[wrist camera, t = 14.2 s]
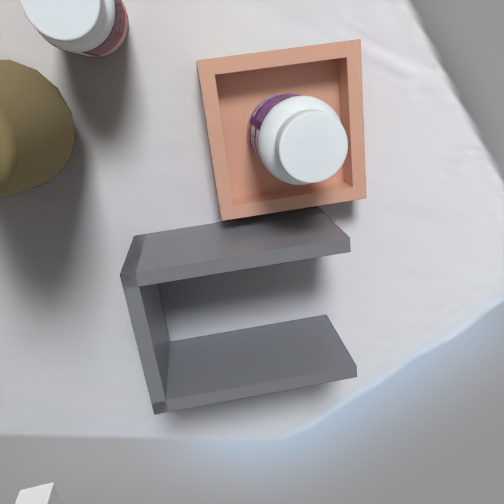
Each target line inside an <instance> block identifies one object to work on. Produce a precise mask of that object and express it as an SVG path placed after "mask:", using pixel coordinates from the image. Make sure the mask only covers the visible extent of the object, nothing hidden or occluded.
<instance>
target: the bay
mask: <svg viewBox="0 0 504 504" xmlns="http://www.w3.org/2000/svg"><path fill="white" fill-rule="evenodd" d="M346 252H351V250H350V237H349V236H348V235H347V234H346V233H345V232H344V231H342V230H341V229H340V228H339V227H338V226H337V225H336V224H335V223H334V222H333V221H332V220H331V219H330V218H329V217H328V216H327V215H326V214H325V213H324V212H323V211H322V210H321V209H320V208H319V207H316V208H310V209H303V210H297V211H290V212H284V213H278V214H271V215H265V216H258V217H252V218H246V219H239V220H233V221H227V222H220V223H214V224H207V225H201V226H195V227H188V228H182V229H175V230H169V231H163V232H156V233H150V234H143V235H137V236H134V238H133V240H132V243H131V246H130V249H129V251H128V254H127V257H126V260H125V262H124V265H123V268H122V270H121V273H120V278H121V282H122V286H123V290H124V294H125V298H126V302H127V306H128V310H129V314H130V318H131V322H132V326H133V330H134V334H135V338H136V342H137V346H138V350H139V354H140V358H141V362H142V366H143V370H144V374H145V379H146V383H147V387H148V391H149V395H150V399H151V403H152V407H153V411H154V414H160V413H165V412H171V411H176V410H181V409H187V408H192V407H198V406H203V405H208V404H214V403H219V402H225V401H230V400H235V399H241V398H246V397H252V396H257V395H262V394H268V393H273V392H279V391H284V390H289V389H295V388H300V387H306V386H311V385H316V384H322V383H327V382H333V381H338V380H343V379H349V378H354V377H357V366H356V364H355V362H354V361H353V359H352V357H351V356H350V354H349V352H348V350H347V349H346V347H345V345H344V344H343V342H342V340H341V339H340V337H339V335H338V333H337V332H336V330H335V328H334V327H333V325H332V323H331V322H330V320H329V318H328V316H327V315H322V316H316V317H310V318H305V319H299V320H293V321H287V322H282V323H276V324H270V325H264V326H259V327H253V328H247V329H241V330H236V331H230V332H224V333H218V334H213V335H207V336H201V337H195V338H190V339H184V340H178V341H172V342H170V338H169V334H168V329H167V325H166V320H165V315H164V311H163V306H162V302H161V297H160V292H159V288H158V283H164V282H170V281H176V280H182V279H188V278H194V277H200V276H206V275H212V274H218V273H224V272H231V271H237V270H243V269H249V268H255V267H261V266H267V265H273V264H279V263H285V262H291V261H297V260H303V259H310V258H316V257H322V256H328V255H334V254H340V253H346Z"/></svg>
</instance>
